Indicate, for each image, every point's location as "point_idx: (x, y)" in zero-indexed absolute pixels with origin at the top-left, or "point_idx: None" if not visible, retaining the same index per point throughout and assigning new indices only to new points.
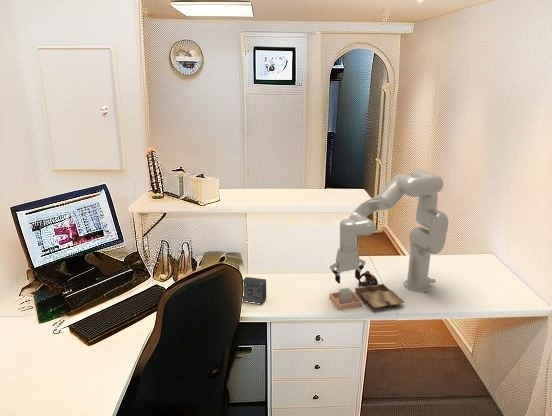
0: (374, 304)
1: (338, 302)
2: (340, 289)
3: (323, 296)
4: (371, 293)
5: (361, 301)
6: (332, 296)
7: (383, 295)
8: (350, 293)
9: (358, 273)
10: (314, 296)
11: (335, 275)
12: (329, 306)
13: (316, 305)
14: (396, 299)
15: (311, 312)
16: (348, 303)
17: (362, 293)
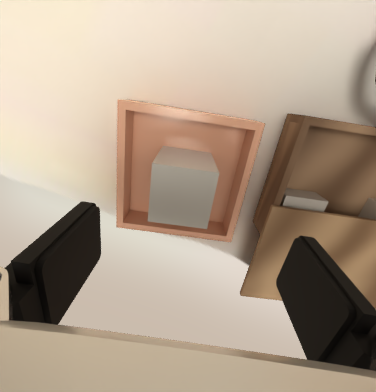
0: (258, 283)
1: (152, 161)
2: (158, 169)
3: (109, 52)
4: (355, 158)
5: (230, 241)
6: (120, 141)
7: (356, 247)
8: (195, 224)
9: (311, 358)
10: (55, 24)
11: (10, 270)
12: (102, 162)
13: (42, 127)
14: (368, 289)
15: (5, 171)
16: (165, 231)
17: (318, 138)
